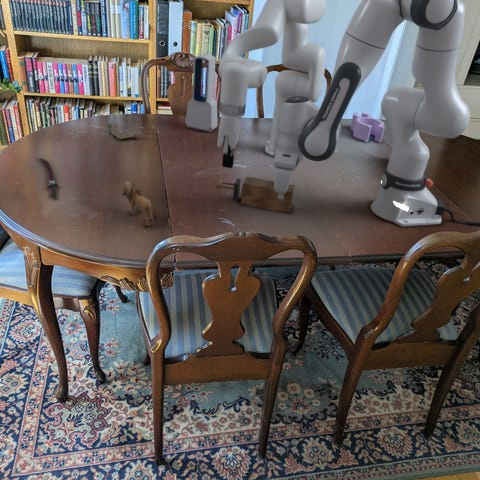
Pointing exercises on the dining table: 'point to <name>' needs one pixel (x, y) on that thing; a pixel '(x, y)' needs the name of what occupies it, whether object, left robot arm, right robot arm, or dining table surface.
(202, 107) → the electronic device
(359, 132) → the clip
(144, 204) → the lion figurine
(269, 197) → the cabinet
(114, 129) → the jawbone
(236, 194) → the wooden handle frame
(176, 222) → the dining table surface
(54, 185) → the sword
